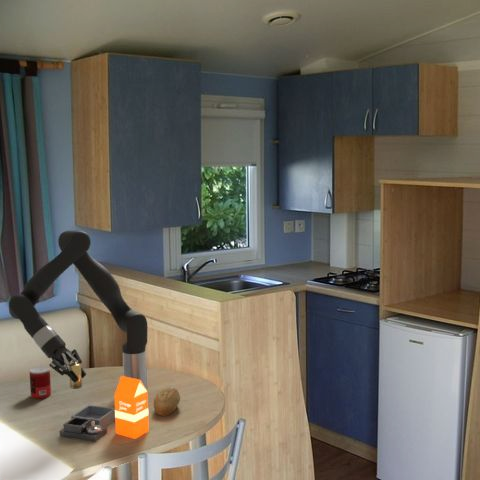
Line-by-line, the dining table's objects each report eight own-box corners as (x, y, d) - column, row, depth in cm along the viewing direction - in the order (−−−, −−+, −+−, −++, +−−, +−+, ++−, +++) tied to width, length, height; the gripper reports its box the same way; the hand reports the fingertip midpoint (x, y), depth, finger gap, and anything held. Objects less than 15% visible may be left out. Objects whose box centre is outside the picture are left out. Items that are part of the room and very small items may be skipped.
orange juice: (134, 439, 248) (132, 383, 245) (115, 433, 253) (113, 378, 250) (149, 431, 255) (147, 376, 252) (130, 425, 259) (128, 372, 256)
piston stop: (74, 384, 253) (73, 362, 251) (84, 385, 251) (83, 363, 250) (67, 388, 249) (66, 365, 248) (78, 389, 248) (76, 367, 246)
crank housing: (72, 427, 258) (71, 411, 257) (106, 432, 253) (106, 416, 252) (59, 436, 251) (58, 419, 250) (94, 442, 246) (93, 424, 245)
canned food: (54, 393, 292) (53, 367, 291) (43, 400, 285) (42, 373, 283) (38, 391, 295) (37, 365, 293) (27, 398, 287) (25, 371, 286)
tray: (89, 415, 269) (88, 404, 269) (116, 418, 265) (115, 408, 265) (71, 426, 259) (71, 416, 258) (99, 431, 255) (99, 420, 254)
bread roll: (183, 402, 281) (183, 383, 280) (176, 417, 266) (176, 397, 265) (159, 402, 282) (158, 382, 281) (150, 417, 267) (150, 396, 266)
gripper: (42, 340, 243) (75, 378, 241) (66, 329, 256) (98, 365, 254) (30, 354, 246) (62, 392, 244) (55, 342, 259) (85, 378, 257)
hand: (80, 378), depth 249 cm, fingers closed on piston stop, 4 cm apart
